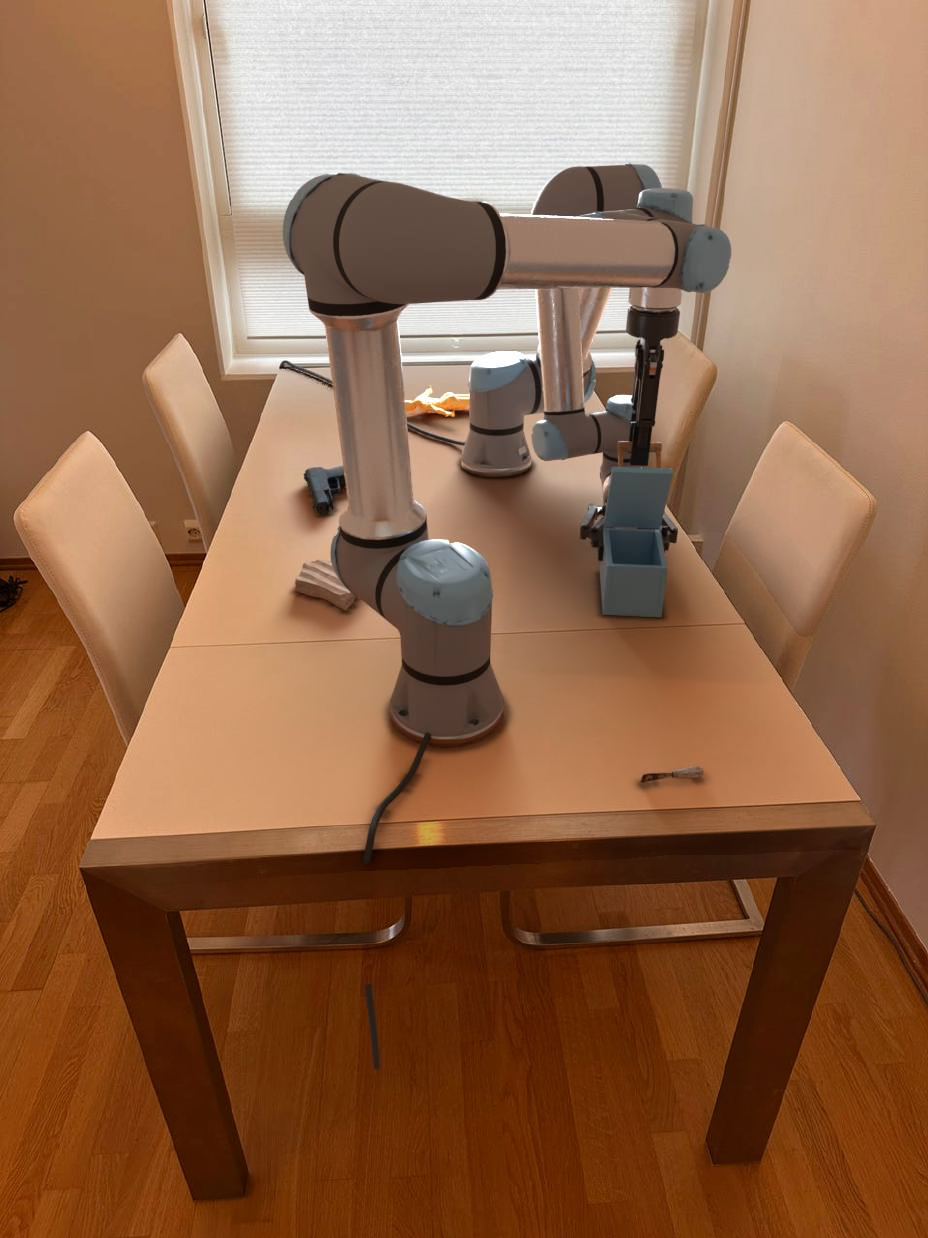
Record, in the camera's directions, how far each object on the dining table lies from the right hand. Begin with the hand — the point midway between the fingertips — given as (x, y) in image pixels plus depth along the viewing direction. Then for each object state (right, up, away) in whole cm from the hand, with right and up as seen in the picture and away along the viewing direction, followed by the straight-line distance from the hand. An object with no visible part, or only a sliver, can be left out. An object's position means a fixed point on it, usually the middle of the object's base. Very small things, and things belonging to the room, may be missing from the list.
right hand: (631, 554), depth 147 cm
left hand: (0, +15, -5) cm, 16 cm away
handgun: (-53, +15, +35) cm, 66 cm away
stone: (-49, -6, +2) cm, 50 cm away
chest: (0, -7, +1) cm, 7 cm away
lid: (0, +8, -5) cm, 9 cm away
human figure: (-31, +42, +79) cm, 95 cm away
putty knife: (-2, -30, -37) cm, 48 cm away
